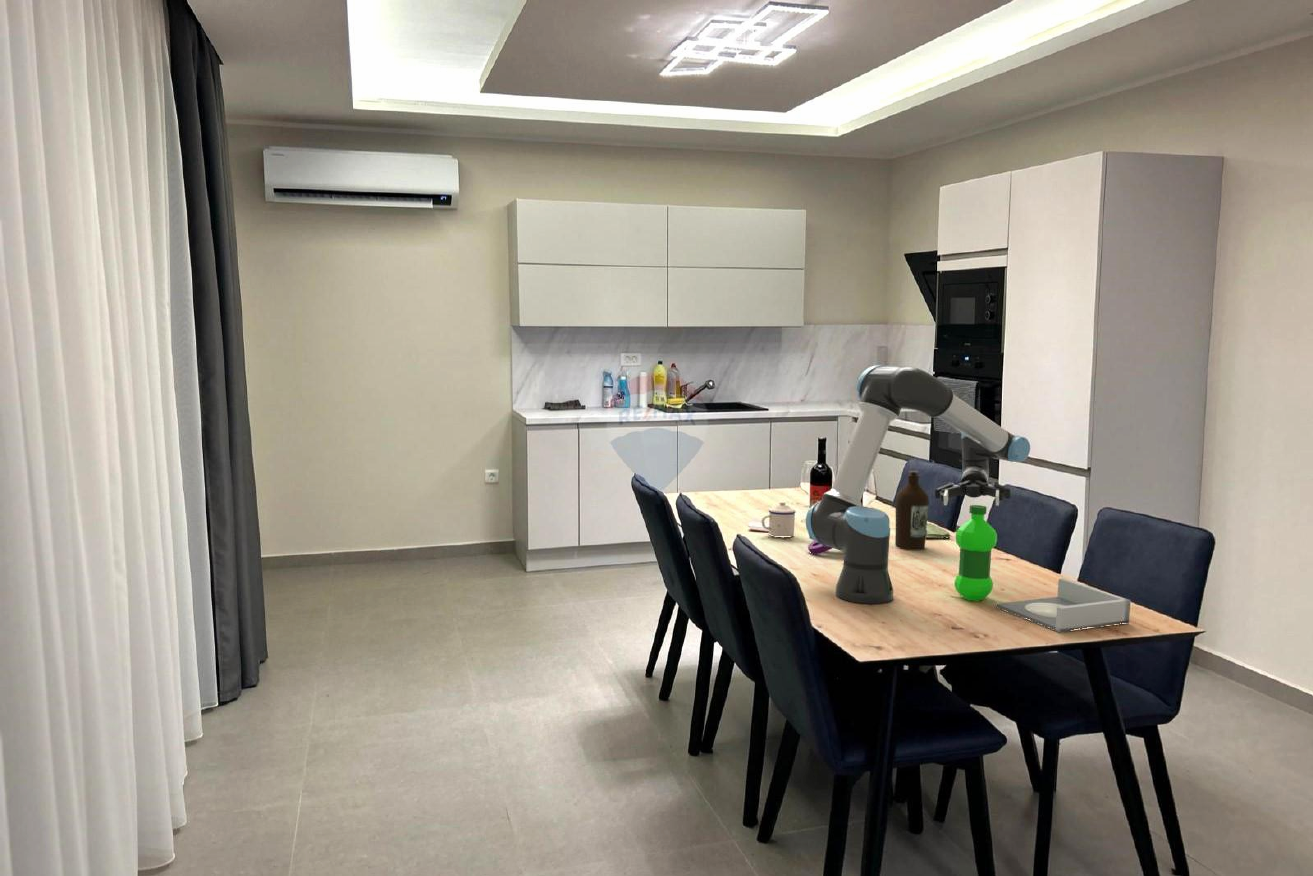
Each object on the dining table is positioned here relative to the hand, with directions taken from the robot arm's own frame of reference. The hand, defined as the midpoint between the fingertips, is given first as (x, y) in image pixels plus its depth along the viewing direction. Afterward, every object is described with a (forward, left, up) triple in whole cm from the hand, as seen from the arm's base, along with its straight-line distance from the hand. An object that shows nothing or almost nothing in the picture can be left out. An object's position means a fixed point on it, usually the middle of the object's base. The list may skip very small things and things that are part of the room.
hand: (970, 500), depth 267 cm
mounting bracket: (-11, +48, -26) cm, 56 cm away
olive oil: (+17, +48, -25) cm, 57 cm away
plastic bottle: (-4, -8, -25) cm, 27 cm away
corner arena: (+7, -28, -25) cm, 38 cm away
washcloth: (+34, +64, -26) cm, 77 cm away
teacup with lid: (-17, +76, -25) cm, 82 cm away
